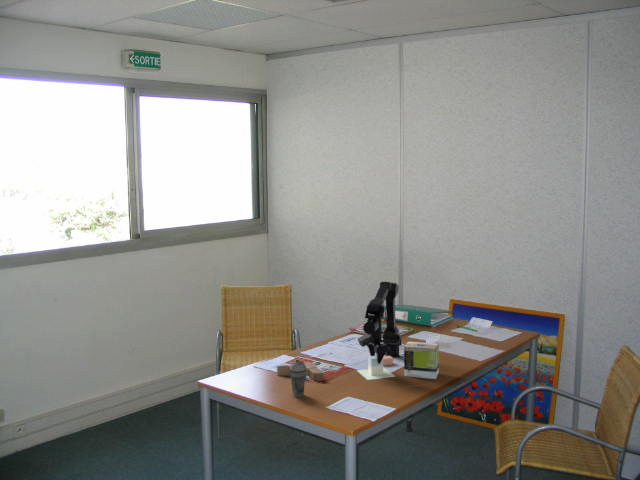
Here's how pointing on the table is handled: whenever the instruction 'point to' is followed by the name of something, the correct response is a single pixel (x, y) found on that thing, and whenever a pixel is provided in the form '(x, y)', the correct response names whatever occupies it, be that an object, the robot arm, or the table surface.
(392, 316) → the robot arm
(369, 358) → the brick blue
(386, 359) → the brick rust
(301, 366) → the beverage cup
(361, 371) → the baseplate
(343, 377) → the table surface
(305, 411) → the table surface
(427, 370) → the tea box
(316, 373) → the wooden block set
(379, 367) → the brick cream
